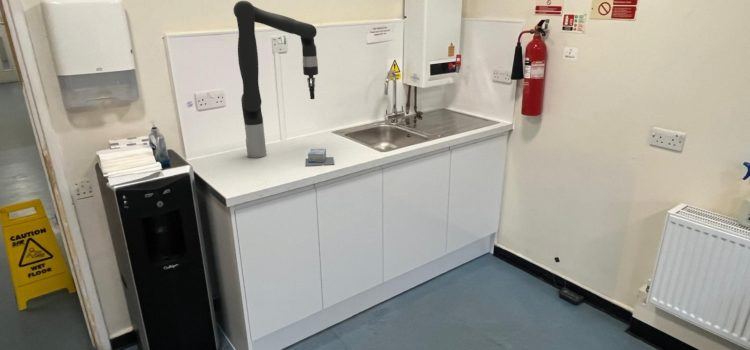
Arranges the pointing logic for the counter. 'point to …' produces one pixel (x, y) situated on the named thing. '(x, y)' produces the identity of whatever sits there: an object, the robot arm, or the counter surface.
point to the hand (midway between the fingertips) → (312, 98)
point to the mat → (327, 162)
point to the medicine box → (317, 155)
